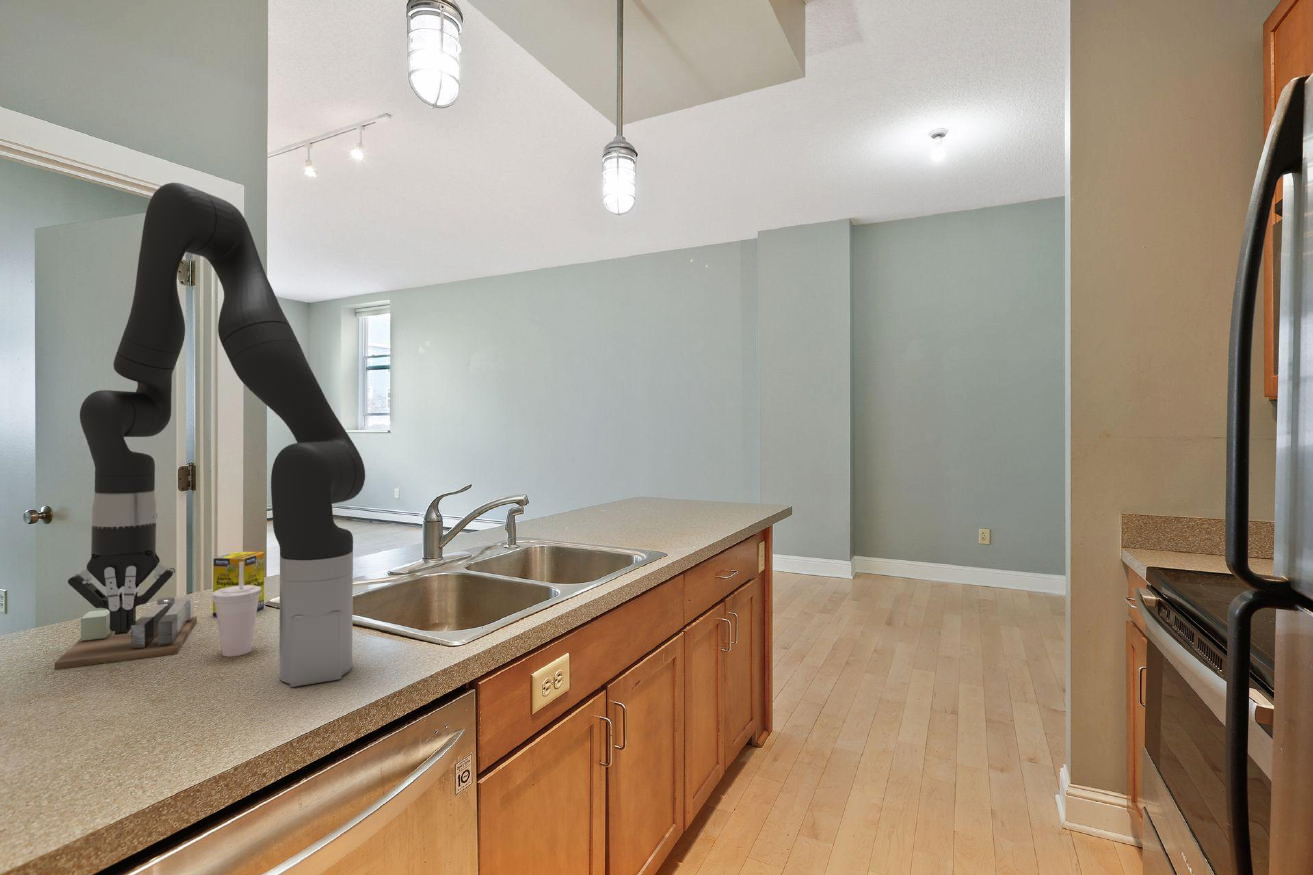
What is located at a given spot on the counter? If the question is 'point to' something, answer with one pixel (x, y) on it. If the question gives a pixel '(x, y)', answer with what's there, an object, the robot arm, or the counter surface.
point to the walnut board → (119, 649)
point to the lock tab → (95, 625)
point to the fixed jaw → (174, 618)
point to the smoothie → (236, 616)
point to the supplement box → (229, 572)
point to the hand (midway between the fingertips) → (122, 632)
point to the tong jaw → (147, 626)
